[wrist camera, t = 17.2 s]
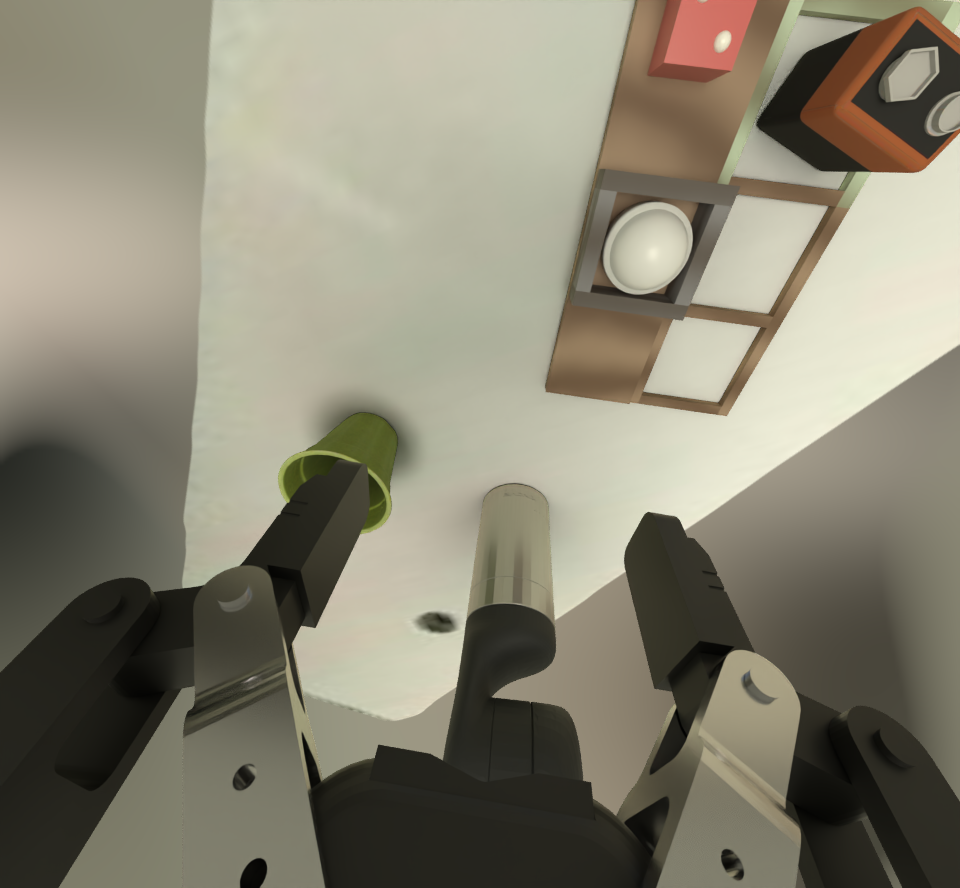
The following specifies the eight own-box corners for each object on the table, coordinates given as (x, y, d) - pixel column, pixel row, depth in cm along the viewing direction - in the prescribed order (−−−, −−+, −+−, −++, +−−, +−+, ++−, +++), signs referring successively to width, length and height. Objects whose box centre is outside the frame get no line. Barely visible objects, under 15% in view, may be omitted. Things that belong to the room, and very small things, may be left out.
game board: (723, 412, 41) (740, 434, 38) (545, 386, 41) (546, 406, 38) (958, 8, 23) (1031, -19, 20) (642, -29, 24) (661, -61, 20)
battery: (806, 47, 25) (938, -10, 17) (880, 104, 26) (1036, 76, 18) (751, 125, 27) (843, 109, 19) (821, 174, 28) (935, 177, 20)
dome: (662, 290, 33) (683, 309, 29) (590, 280, 33) (599, 298, 29) (694, 205, 29) (724, 212, 25) (612, 194, 30) (627, 199, 25)
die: (706, 82, 25) (735, 69, 22) (647, 75, 26) (665, 60, 22) (736, -7, 23) (774, -39, 19) (671, -15, 23) (696, -48, 20)
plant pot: (428, 465, 50) (406, 531, 41) (349, 474, 53) (311, 538, 44) (398, 387, 43) (363, 444, 34) (308, 401, 46) (254, 459, 37)
